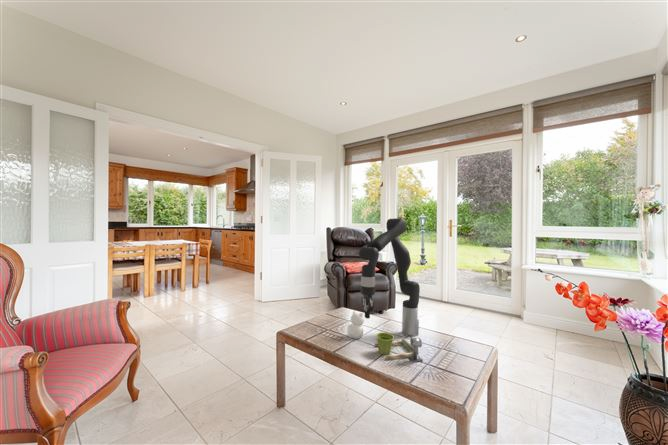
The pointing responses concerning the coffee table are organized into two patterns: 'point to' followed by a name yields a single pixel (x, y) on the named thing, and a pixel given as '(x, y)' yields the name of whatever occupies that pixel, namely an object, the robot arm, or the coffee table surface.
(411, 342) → the winch post
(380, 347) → the plant pot
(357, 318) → the cat figurine
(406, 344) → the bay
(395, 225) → the robot arm
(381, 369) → the coffee table surface
